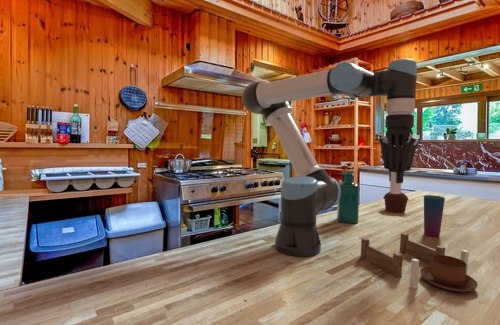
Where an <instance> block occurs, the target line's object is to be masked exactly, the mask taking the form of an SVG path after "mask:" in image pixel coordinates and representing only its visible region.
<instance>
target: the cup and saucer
mask: <svg viewBox="0 0 500 325" xmlns="http://www.w3.org/2000/svg"><path fill="white" fill-rule="evenodd" d="M466 267H467V264H466V263H465V262H464V261H462V260H461V258H457V257H453V256H450V255H434V256H432V258H431V264H430V265H429V266H425V267H424V266H423V267H422V268H420V269H419V274H420V276H421V277H422V278H423V279H424V280H425V281H426V282H428V283H429V284H431V285H432V286H434V287H438V288H440V289H443V290H446V291H450V292H451V291H452V292H457V293H467V292H472V291H474V290H476V289H477V288H478V282H477V281H476V280H475V279H474V278H473V277H472V276H470V275H468V274H467V275H466Z"/></svg>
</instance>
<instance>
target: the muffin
mask: <svg viewBox="0 0 500 325" xmlns="http://www.w3.org/2000/svg"><path fill="white" fill-rule="evenodd" d="M385 193H386V192H385ZM383 199H384V207H385V210H386V212H389V213H395V214H403V213H405V211H406V208H407V203H408V201H409V197H408V195H406V194H405V193H404V192H402V191H401V194H392V193H390V191H388V192H387V193H386V194H384V196H383Z"/></svg>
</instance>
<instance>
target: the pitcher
mask: <svg viewBox="0 0 500 325" xmlns="http://www.w3.org/2000/svg"><path fill="white" fill-rule="evenodd" d="M354 176H356V173H355V172H354V171H353V170H352V171H350V170H341V182H338V184H339V186H340V189H341V195H340V199H339V201H338V202H337V204H336V205H337V207H336V208H337V209H336V210H337V212H336V218H337V221H338V222H339V223H342V224H358V223H359V214H360V213H359V212H360V210H359V209H360V189H361V188H360V186H359V185H358V183H356V182H354Z"/></svg>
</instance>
